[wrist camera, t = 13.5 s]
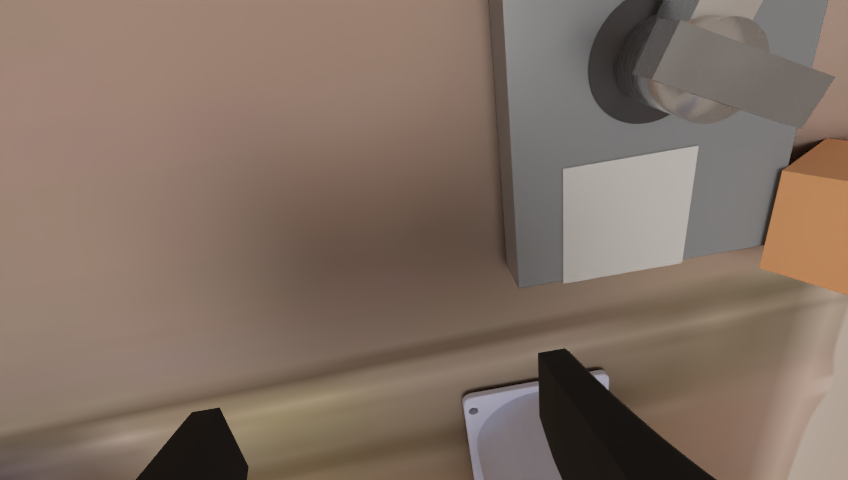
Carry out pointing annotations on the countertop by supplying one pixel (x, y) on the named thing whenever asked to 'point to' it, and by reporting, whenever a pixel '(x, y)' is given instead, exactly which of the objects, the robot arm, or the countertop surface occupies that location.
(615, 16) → the box
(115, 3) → the countertop surface
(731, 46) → the lever handle
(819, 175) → the orange cube
